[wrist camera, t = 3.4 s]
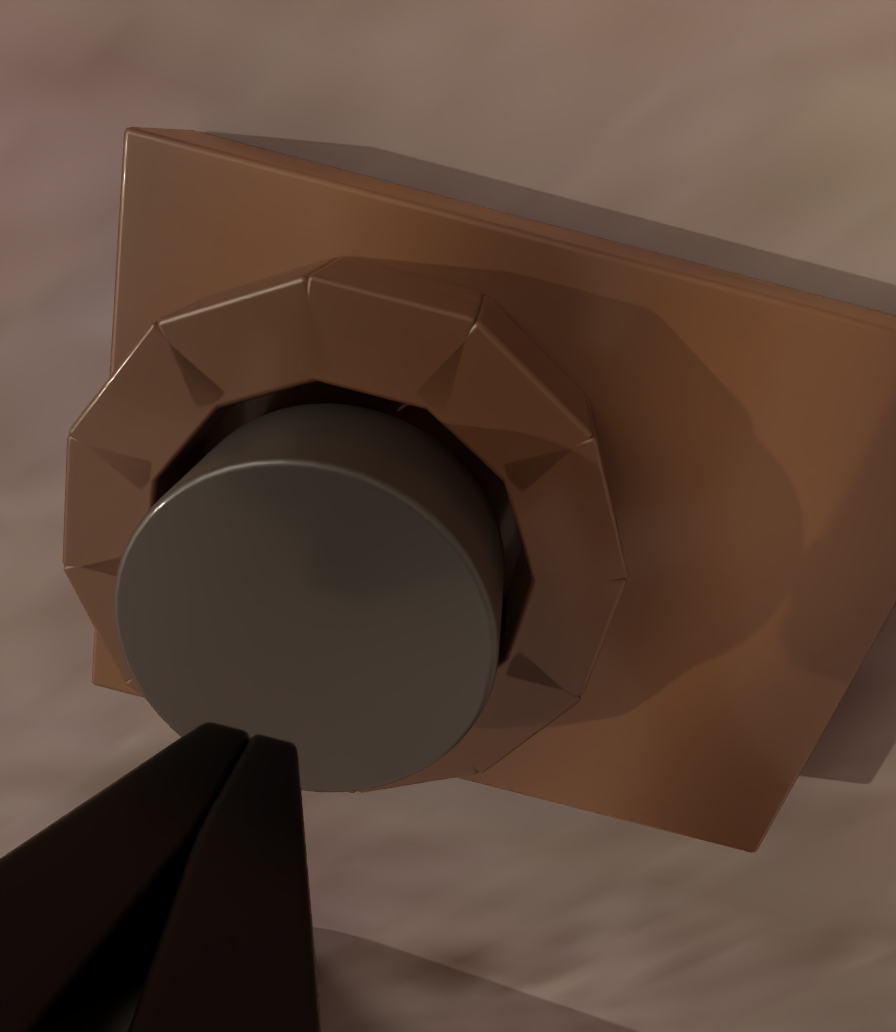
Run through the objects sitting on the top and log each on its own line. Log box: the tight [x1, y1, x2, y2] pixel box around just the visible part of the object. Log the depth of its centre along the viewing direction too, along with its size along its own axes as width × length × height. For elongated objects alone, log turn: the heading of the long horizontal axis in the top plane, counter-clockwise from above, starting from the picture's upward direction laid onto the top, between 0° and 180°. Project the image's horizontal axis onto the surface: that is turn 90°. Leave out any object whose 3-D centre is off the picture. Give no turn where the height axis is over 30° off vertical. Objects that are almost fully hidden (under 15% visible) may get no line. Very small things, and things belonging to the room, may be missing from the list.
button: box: [114, 403, 505, 792], centre depth 10 cm, size 4×4×2 cm
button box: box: [63, 127, 896, 852], centre depth 12 cm, size 12×9×4 cm
